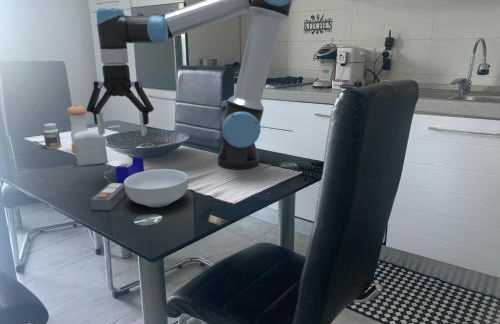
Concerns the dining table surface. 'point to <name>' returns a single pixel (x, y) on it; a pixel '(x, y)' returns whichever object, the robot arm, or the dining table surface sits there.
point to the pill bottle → (51, 136)
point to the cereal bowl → (156, 187)
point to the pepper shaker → (77, 121)
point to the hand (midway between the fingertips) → (123, 134)
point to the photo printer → (90, 148)
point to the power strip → (108, 197)
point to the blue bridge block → (129, 169)
